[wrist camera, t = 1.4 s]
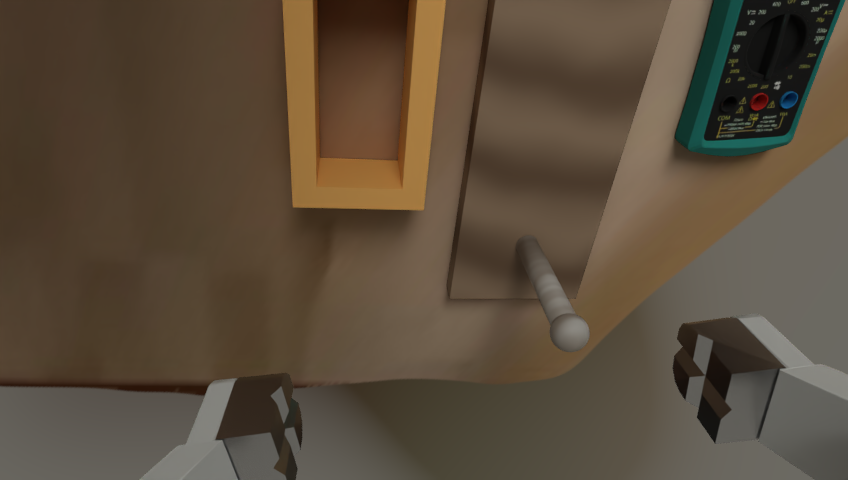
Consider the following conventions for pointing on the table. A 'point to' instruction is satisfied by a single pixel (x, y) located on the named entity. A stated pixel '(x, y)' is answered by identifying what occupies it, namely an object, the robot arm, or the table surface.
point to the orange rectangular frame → (408, 175)
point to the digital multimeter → (755, 74)
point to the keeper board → (547, 147)
